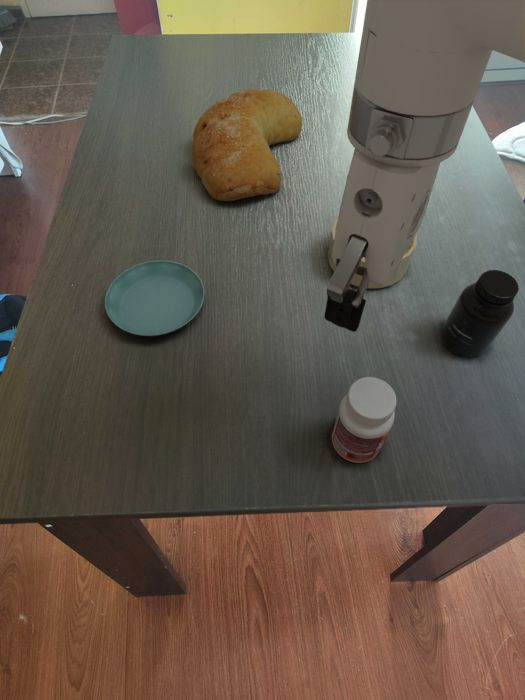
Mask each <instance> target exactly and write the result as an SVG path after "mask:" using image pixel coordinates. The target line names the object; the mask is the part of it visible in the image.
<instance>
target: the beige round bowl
mask: <svg viewBox="0 0 525 700" xmlns="http://www.w3.org/2000/svg"><path fill="white" fill-rule="evenodd" d="M337 221H338V217H337V218H336V219H335V220H334V221H333V224H332V227H331V232H330V237H329V243H328V244H329V245H328V251H327V259H328V265H329V267H330V268H331V270H332V272H333V273H334V272H335V270H336V268H337V266H335V264H334V262H333V258H332V255H333V244H334V238H335V232H336V226H337ZM417 244H418V235H417V233H416V235H415V237H414V238H413V240H412V242H411V244H410V246H409V247H408V249H407V251H406V253H405V254H404V256H403V258H402V259H401V261H400V263H399V264H398V266H397V268H396V269H395V271H394V273H393V274H392V276H391V277H390V279H389V280H387V281H386V282H384V283H381V284H379V283H378V282H375V281H372V280H370V282H369V285H368V287H367V289H383V288H386V287H390V286H393V285H395V284H396V283H398V282H399V281H402V279H403V278H404V276H405V275H406V274H407V272H408V270H409V267H410V265H411V264H410V263H411V262H412V259H413V257H414V253H415V251H416V248H417ZM359 266H362V267H364V268H366V264H365V258H364V257H363V258H362V260H361V262H360V264H359ZM362 277H363V276H361V275H358V274H356V273H355V274H354V276H353V278H352V280H351V283H350V285H353V286H355V287H359V284H360V282H361V279H362Z"/></svg>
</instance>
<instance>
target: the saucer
mask: <svg viewBox="0 0 525 700" xmlns="http://www.w3.org/2000/svg"><path fill="white" fill-rule="evenodd" d="M205 289H206V288H205V286H204V283H203V279H202V278H201V277H200V275H199V274H198V273H197V272H196V271H195V270H193V268H191V267H189V266H188V265H186V264H184V263H181V262H178V261H175V260H165V259H158V260H157V259H155V260H149V261H144V262H141V263H138V264H135V265H133V266H130V267H129V268H127V269H125V270H124V271H122V272H121V273H119V275H117V276H116V277H115V278H114V279H113V281H112V282H111V283H110V285H109V287H108V288H107V290H106V293H105V297H104V307H105V311H106V312H105V313H106V315H107V317H108V318H109V319H110V321H111V322H112V323H113V325H115V326H116V327H118V328H119V329H121V330H122V331H124V332H127V333H129V334H132V335H136V336H142V337H158V336H164V335H168V334H171V333H174V332H176V331H178V330H180V329H182V328H183V327H184V326H186V325H188V324H189V323H190V322H191V321H192V320H193V319H195V317H196V316H197V315H198V313H199V312H200V310H201V309H202V308H203V304H204V302H205V296H206V290H205Z"/></svg>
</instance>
